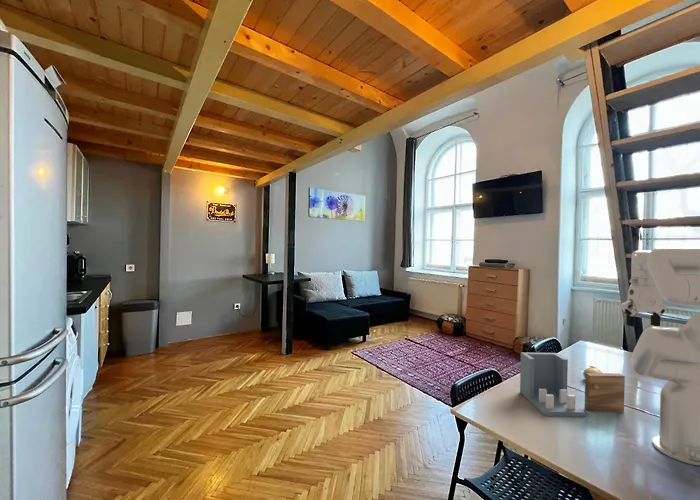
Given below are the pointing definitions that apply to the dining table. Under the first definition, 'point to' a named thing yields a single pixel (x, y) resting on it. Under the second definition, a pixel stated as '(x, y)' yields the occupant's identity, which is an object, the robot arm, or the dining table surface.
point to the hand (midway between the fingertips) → (643, 325)
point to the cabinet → (547, 384)
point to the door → (604, 392)
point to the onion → (591, 370)
